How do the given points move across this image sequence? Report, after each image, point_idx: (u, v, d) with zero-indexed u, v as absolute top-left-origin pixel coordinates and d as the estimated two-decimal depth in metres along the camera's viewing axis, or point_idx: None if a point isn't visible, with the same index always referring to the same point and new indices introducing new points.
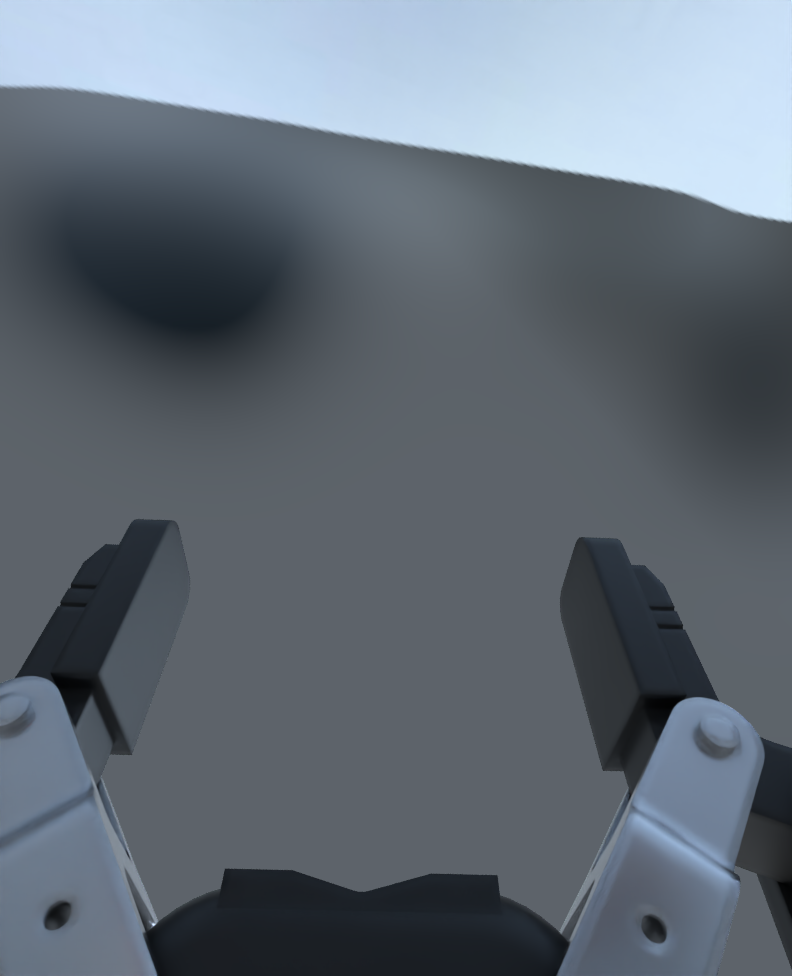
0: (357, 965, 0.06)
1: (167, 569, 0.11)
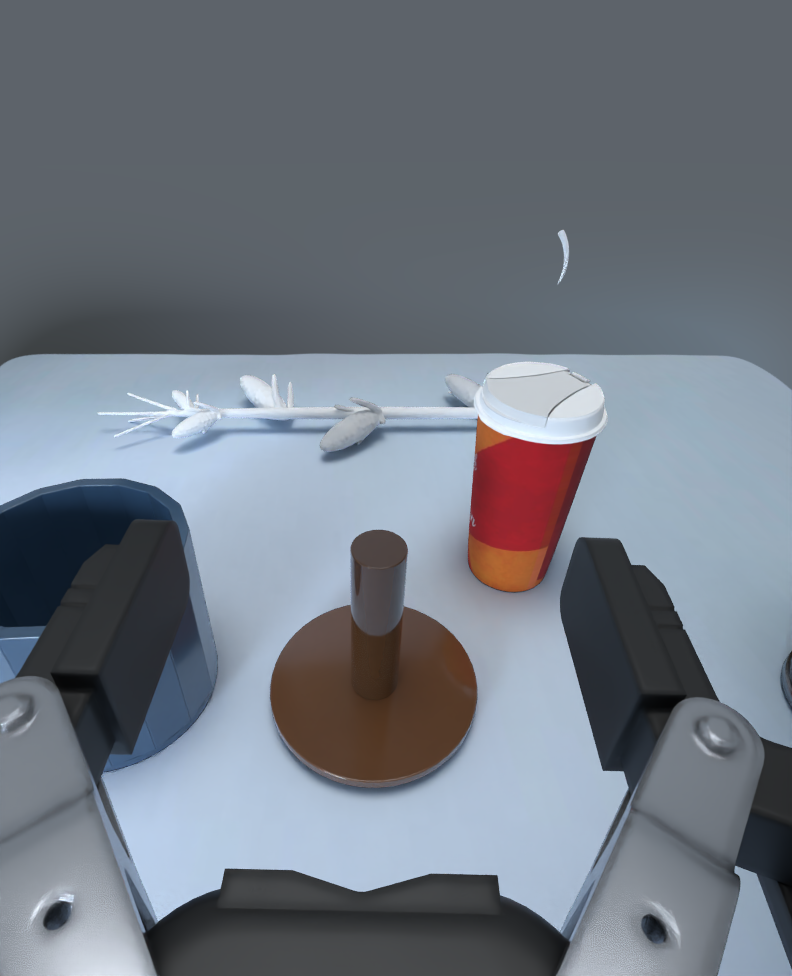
0: (357, 965, 0.06)
1: (168, 570, 0.11)
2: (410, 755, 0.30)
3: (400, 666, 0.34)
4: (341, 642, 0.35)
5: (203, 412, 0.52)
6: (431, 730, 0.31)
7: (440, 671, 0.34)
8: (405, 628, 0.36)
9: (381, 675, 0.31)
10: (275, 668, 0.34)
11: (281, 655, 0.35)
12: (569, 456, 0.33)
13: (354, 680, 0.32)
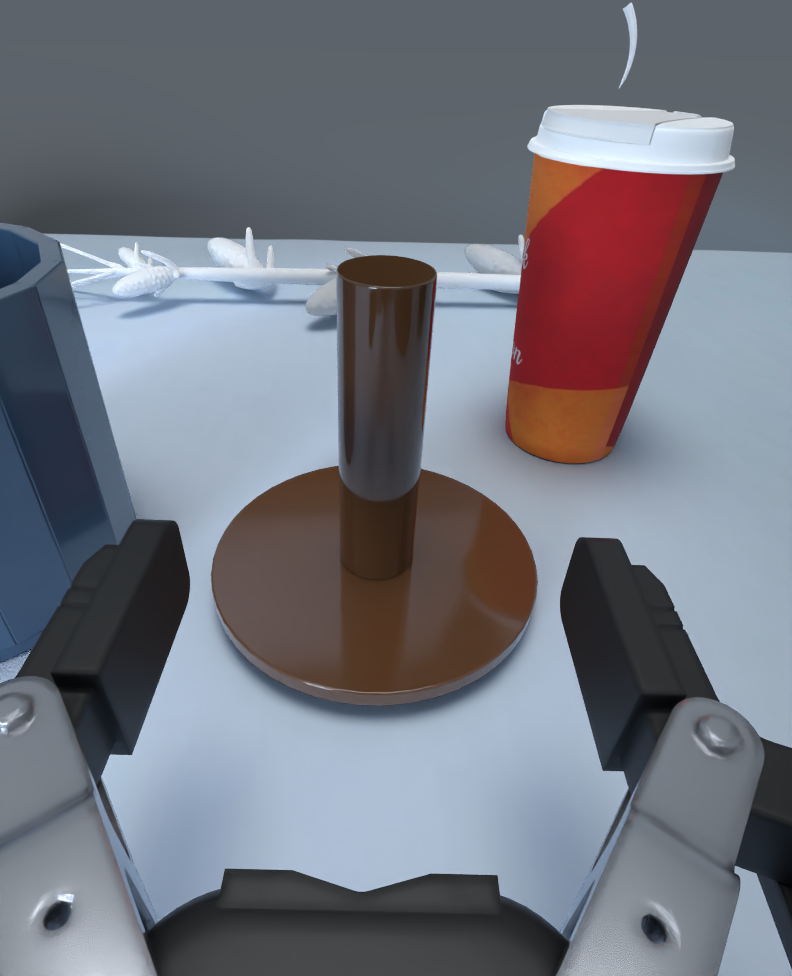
0: (357, 965, 0.06)
1: (168, 570, 0.11)
2: (435, 656, 0.18)
3: (416, 538, 0.22)
4: (326, 507, 0.23)
5: (155, 266, 0.40)
6: (468, 621, 0.19)
7: (477, 545, 0.22)
8: (422, 493, 0.25)
9: (388, 531, 0.19)
10: (223, 537, 0.22)
11: (234, 521, 0.23)
12: (681, 208, 0.22)
13: (344, 547, 0.20)
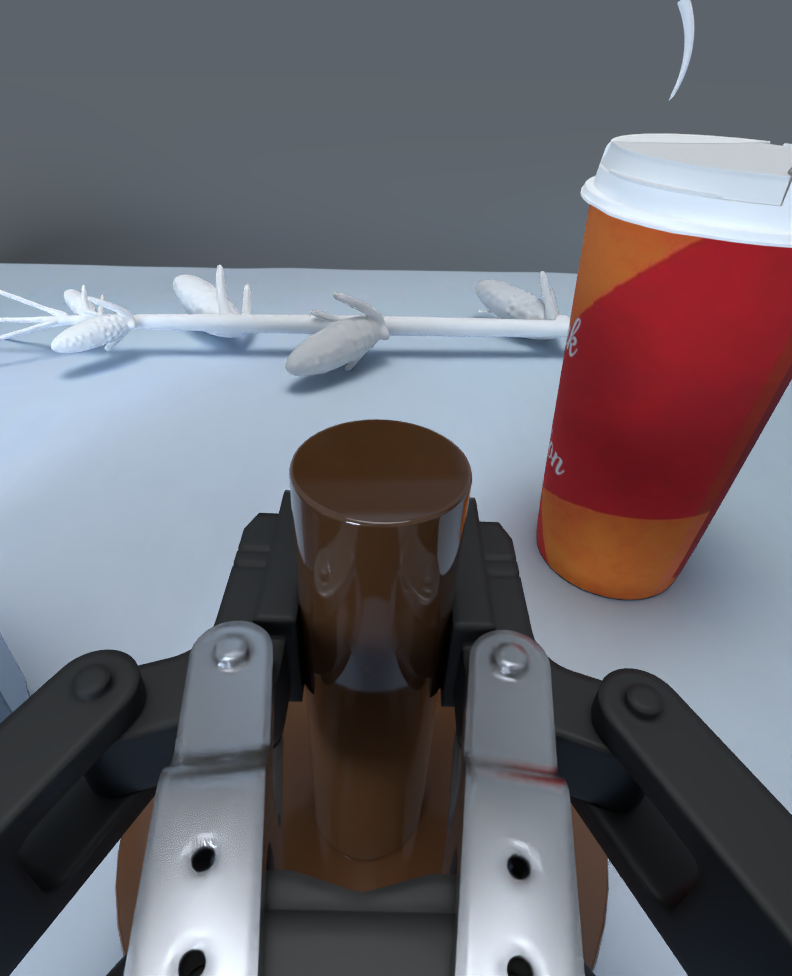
0: (357, 965, 0.06)
1: None
2: None
3: None
4: (298, 707, 0.17)
5: (105, 315, 0.33)
6: None
7: None
8: None
9: (384, 813, 0.12)
10: None
11: None
12: None
13: (319, 813, 0.13)
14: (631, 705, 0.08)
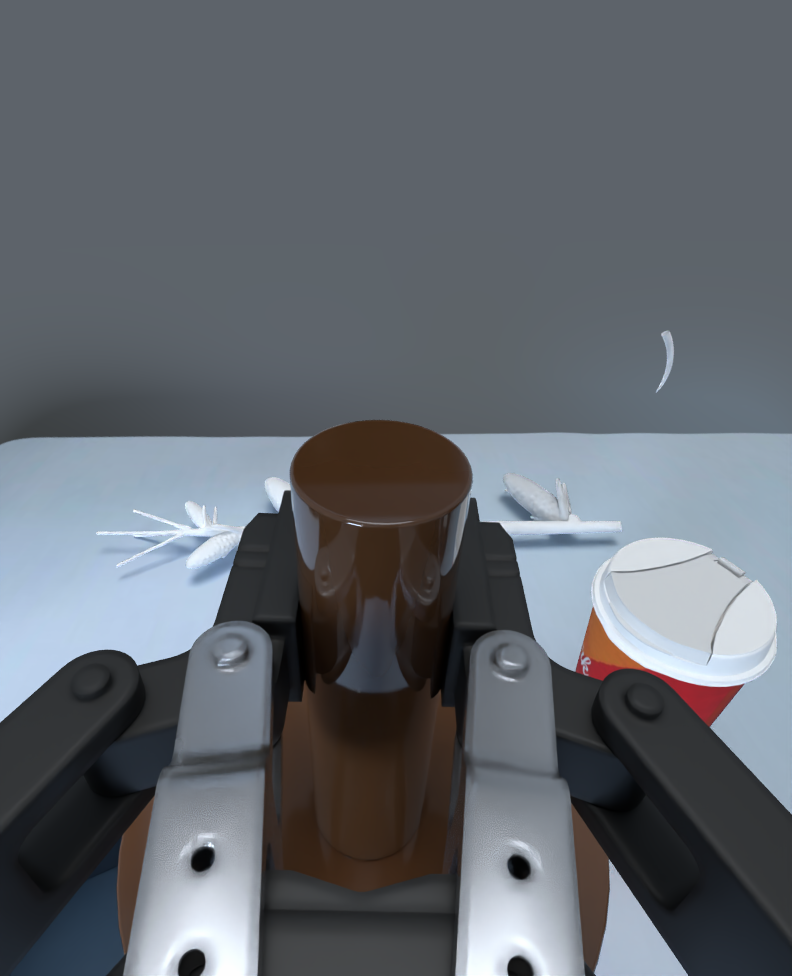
0: (356, 965, 0.06)
1: None
2: None
3: None
4: (298, 708, 0.17)
5: (223, 535, 0.44)
6: None
7: None
8: None
9: (385, 814, 0.12)
10: None
11: None
12: (731, 691, 0.25)
13: (320, 814, 0.13)
14: (631, 705, 0.08)
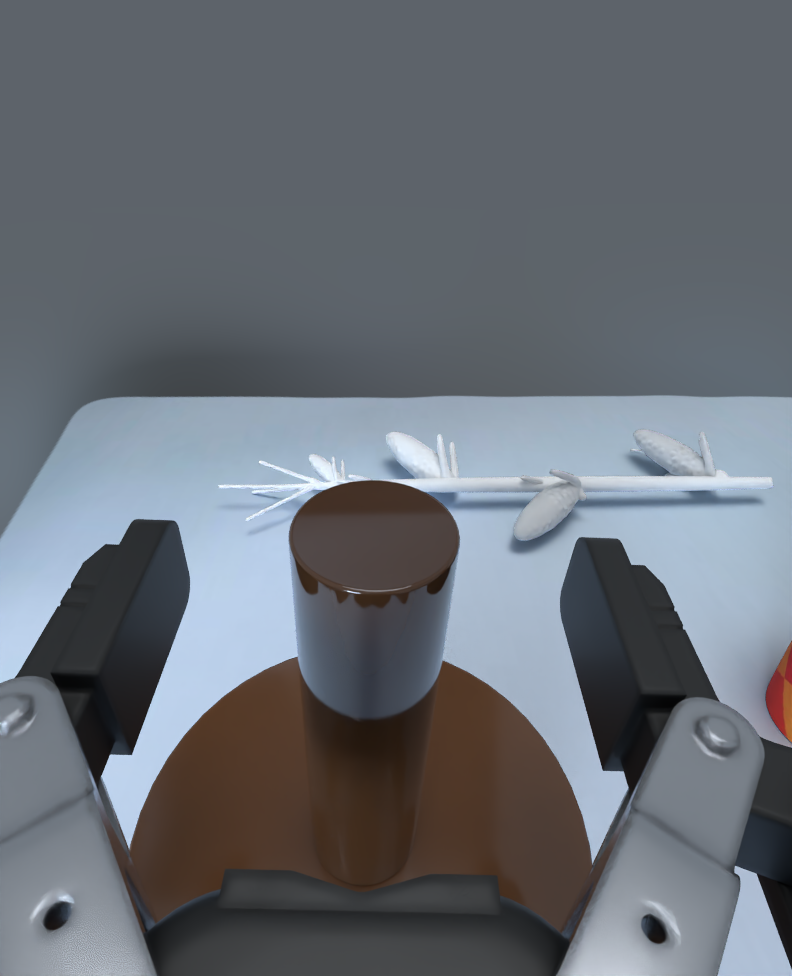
0: (357, 965, 0.06)
1: (168, 570, 0.11)
2: None
3: None
4: (297, 734, 0.17)
5: None
6: None
7: (506, 804, 0.16)
8: None
9: (379, 844, 0.13)
10: (148, 799, 0.16)
11: (166, 766, 0.16)
12: None
13: (317, 841, 0.14)
14: None
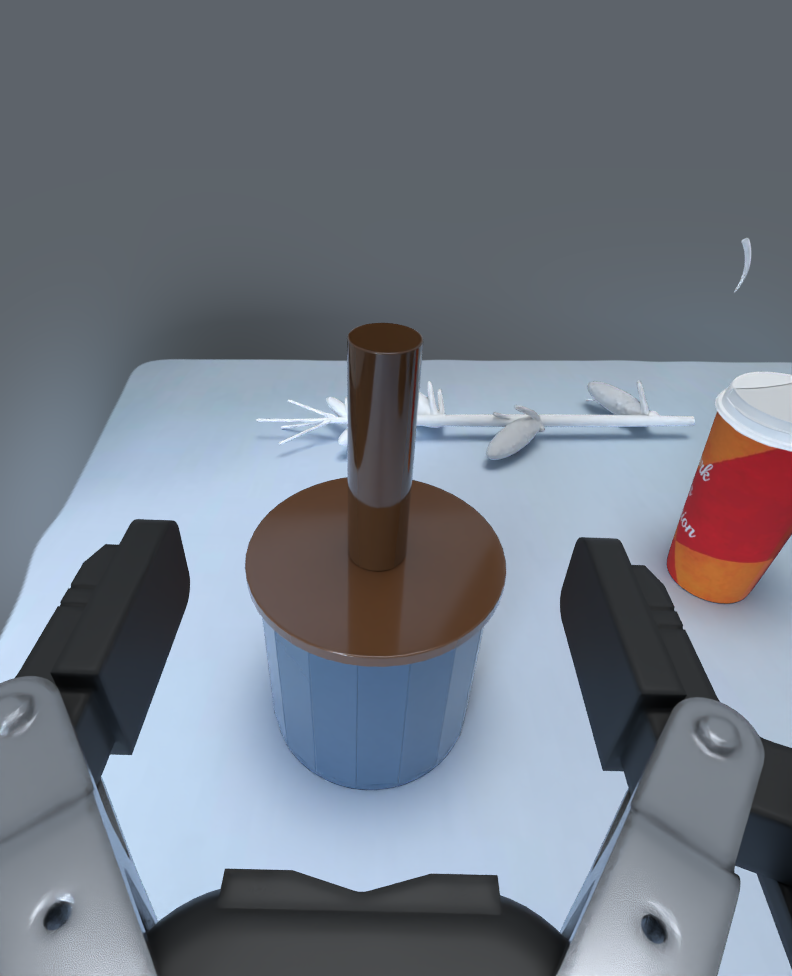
0: (357, 965, 0.06)
1: (168, 570, 0.11)
2: (423, 629, 0.23)
3: (409, 538, 0.28)
4: (335, 513, 0.29)
5: None
6: (450, 603, 0.24)
7: (459, 543, 0.27)
8: (414, 501, 0.30)
9: (386, 533, 0.24)
10: (253, 537, 0.27)
11: (261, 524, 0.28)
12: None
13: (351, 545, 0.26)
14: None
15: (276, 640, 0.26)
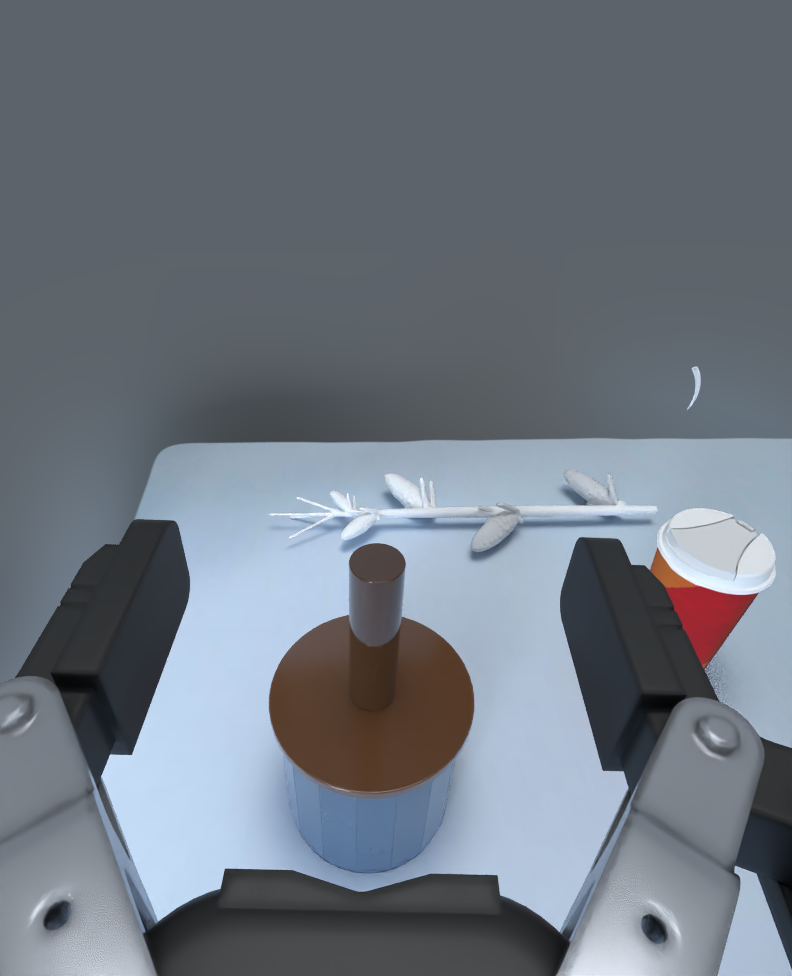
0: (357, 965, 0.06)
1: (168, 570, 0.11)
2: (407, 766, 0.30)
3: (398, 677, 0.35)
4: (339, 652, 0.36)
5: (365, 515, 0.59)
6: (428, 741, 0.32)
7: (437, 682, 0.34)
8: (403, 639, 0.37)
9: (379, 687, 0.31)
10: (274, 678, 0.34)
11: (280, 665, 0.35)
12: (747, 600, 0.40)
13: (352, 691, 0.33)
14: None
15: None
